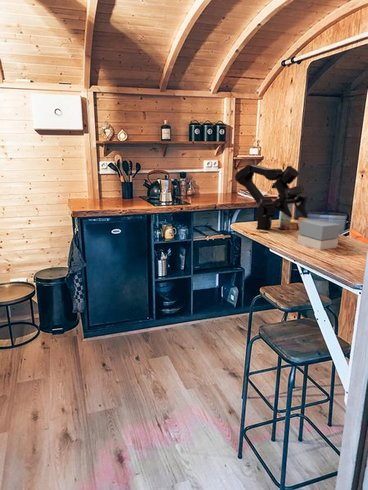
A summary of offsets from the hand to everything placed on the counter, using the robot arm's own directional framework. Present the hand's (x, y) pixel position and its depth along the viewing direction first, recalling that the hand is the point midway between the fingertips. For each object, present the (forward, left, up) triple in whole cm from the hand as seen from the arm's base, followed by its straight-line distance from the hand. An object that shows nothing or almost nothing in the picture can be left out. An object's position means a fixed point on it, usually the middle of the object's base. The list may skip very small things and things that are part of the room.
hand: (298, 216), depth 181 cm
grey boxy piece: (+8, -6, -6) cm, 12 cm away
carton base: (+10, -7, -11) cm, 17 cm away
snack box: (-11, +30, -11) cm, 33 cm away
